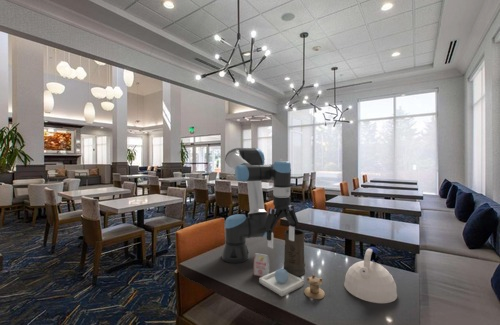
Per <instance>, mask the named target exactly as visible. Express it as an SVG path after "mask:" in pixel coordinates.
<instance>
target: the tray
mask: <svg viewBox="0 0 500 325" xmlns="http://www.w3.org/2000/svg"><path fill="white" fill-rule="evenodd" d="M275 272H276V270H275V271H272V272H269V274H267V275H265V276H263V277H261V276H259V278H258V283H259V284H260V285H262V286H264V287H266V288H267V289H268V290H270V291H272V292H274V293H276V294H277V295H278V296H280V297H284V296H286V295H288V294H291V293H292V292H294V291H296V290H298V289H299V288H301V287H303V286H305V279H302V278H301V277H299V276H294V275H292V274H290V273H288V272H287V273H288V279H287V281H286V282H285V283H279V282H278V281H277V280H276V279H275Z"/></svg>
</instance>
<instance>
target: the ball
mask: <svg viewBox="0 0 500 325" xmlns="http://www.w3.org/2000/svg"><path fill="white" fill-rule="evenodd" d="M283 268H284V267H283ZM283 268H282V267H281V268H277V269H276V270H275V271H276V272H275V271H274V272H275V279H276V280H277V281H278V282H279V283H285V282H286V281H287V279H288V273H287V271H286V270H285V269H283Z"/></svg>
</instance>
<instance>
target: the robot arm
mask: <svg viewBox="0 0 500 325" xmlns="http://www.w3.org/2000/svg"><path fill="white" fill-rule="evenodd" d="M265 160H266V159H265V155H264V152H263V150H262V149H261V148H258V147H257V148H256V147H252V148H251V147H250V148H249V147H236V148H232V149H230V150H229V151H227V153H226V154H225V157H224V161H225V163H226V165H227V166H228V167H229V168H231V169H233V170H234V177H235V180H236V181H237V182H247V193H248V203H249V204H248V206H249V212H248V213H247V216H246V214H239V213H237V214H232V215H230V216H228V217H226V219H225V220H224V246H223V250H222V252H221V259H222V260H223V261H224V262H226V263H229V264H230V263H231V264H239V263H244V262H246V261H247V260H249V259H250V253H249V250H248V249H249V248H248V246H247V239H253V238H254V239H255V238H264V237H266V240H267V248H270V249H274V232H273V231H274V229H275V227H276V225H277V224H278V221H279V220H281V219H282V218H285V219H286V221H287V222H288V224H289V226H288V230H289V240H291V241H294V233H295V230H296V227H297V226H298V225H299V221H298V217H297V214H296V212H295V206H294V205H291V185H292V184H291V179H292V178H291V177H292V168H291V166H292V165H291V162H290V161H289V160H288V161H284V160H282V161H281V160H279V161H278V160H276V161H274V162H273V164H265ZM263 181H264V182H265V181H266V182H268V181H271V182H272V181H273V190H272V191H273V192H272V193H273V197H272V198H273V200H272V202H273V206H274V208H269V209H268V211H266V210H265V203H264V194H263V185H262V182H263Z"/></svg>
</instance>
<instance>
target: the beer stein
mask: <svg viewBox="0 0 500 325" xmlns="http://www.w3.org/2000/svg"><path fill="white" fill-rule="evenodd" d="M305 234H306V233H305V231H303V230H301V229H295V233H294V241H291V240H289V229H287V230H285V231H284V234H283V236H284V260H283V269H285V270H286V271H287V272H288V273H290V274H292V275H294V276H296V277H299V276H303V275H304V274H306V263H305V237H306V235H305Z"/></svg>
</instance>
